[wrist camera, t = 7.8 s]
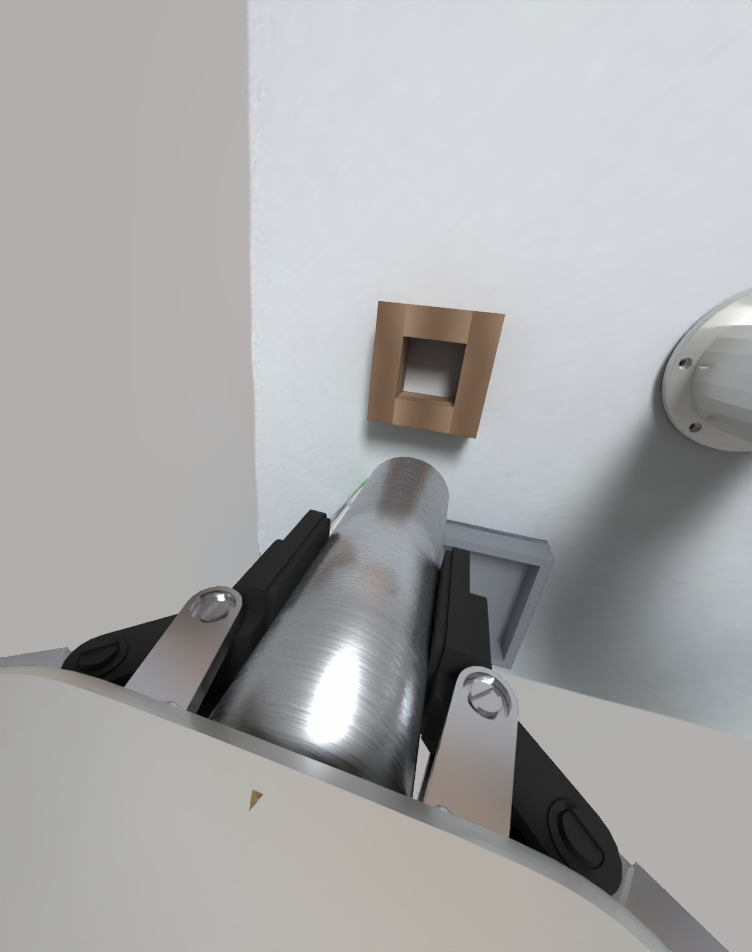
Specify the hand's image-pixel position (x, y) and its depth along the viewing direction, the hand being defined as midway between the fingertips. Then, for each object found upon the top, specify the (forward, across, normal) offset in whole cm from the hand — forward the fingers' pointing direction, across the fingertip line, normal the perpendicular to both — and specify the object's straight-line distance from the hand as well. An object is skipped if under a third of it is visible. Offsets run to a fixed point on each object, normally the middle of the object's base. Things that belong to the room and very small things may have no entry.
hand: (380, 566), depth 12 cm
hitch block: (+25, +1, -4) cm, 26 cm away
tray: (+25, -6, +20) cm, 33 cm away
